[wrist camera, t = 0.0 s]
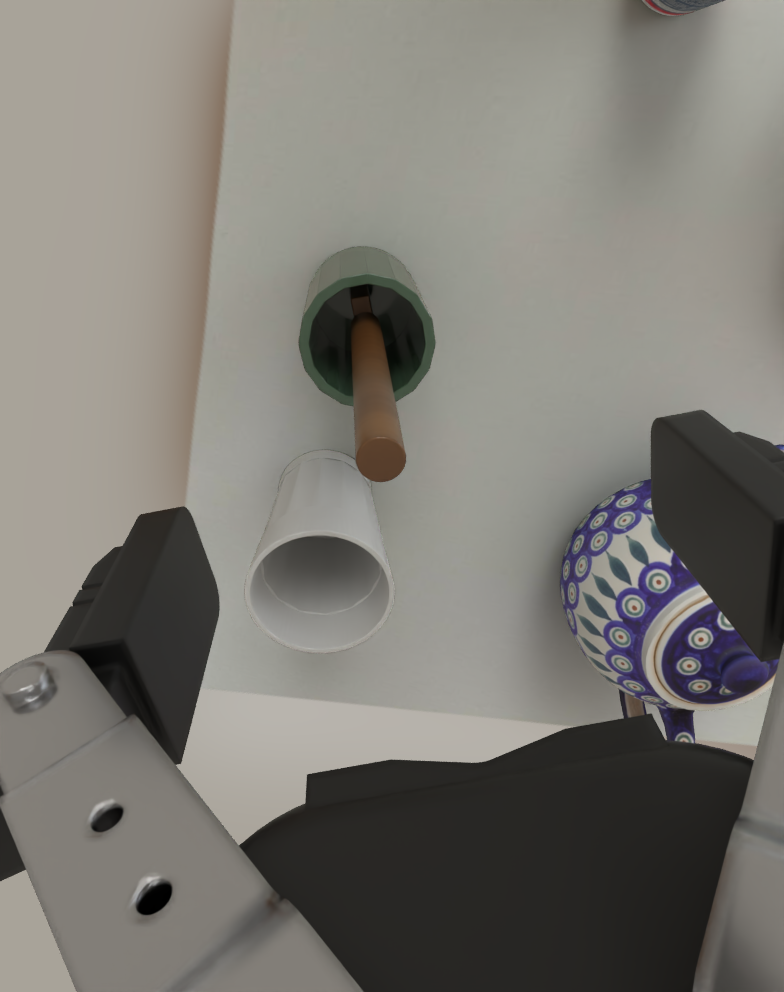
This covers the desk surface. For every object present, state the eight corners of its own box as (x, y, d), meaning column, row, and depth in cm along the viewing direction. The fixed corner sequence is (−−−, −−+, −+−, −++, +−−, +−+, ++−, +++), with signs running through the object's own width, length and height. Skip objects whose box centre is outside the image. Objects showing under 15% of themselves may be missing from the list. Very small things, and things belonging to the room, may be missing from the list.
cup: (255, 527, 49) (231, 638, 38) (281, 425, 45) (261, 515, 35) (365, 552, 50) (371, 665, 40) (397, 455, 47) (413, 549, 36)
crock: (296, 258, 41) (284, 289, 33) (407, 236, 40) (423, 262, 32) (321, 366, 44) (316, 418, 36) (425, 346, 43) (443, 394, 35)
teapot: (687, 677, 58) (787, 837, 45) (512, 668, 56) (563, 832, 43) (804, 391, 46) (984, 493, 33) (589, 369, 45) (690, 468, 32)
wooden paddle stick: (344, 281, 41) (345, 418, 21) (371, 276, 41) (397, 408, 21) (355, 334, 42) (366, 508, 23) (381, 329, 42) (414, 499, 23)
